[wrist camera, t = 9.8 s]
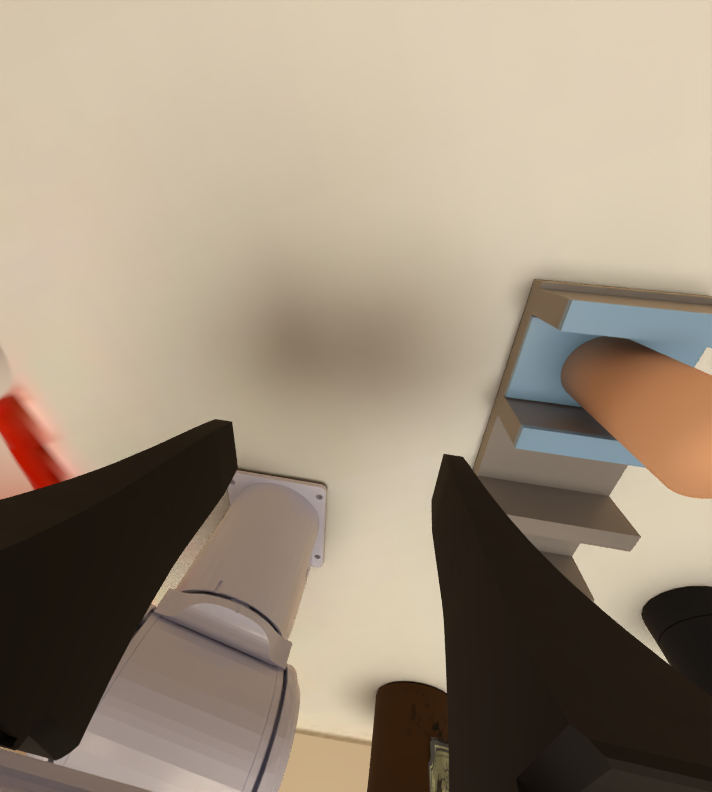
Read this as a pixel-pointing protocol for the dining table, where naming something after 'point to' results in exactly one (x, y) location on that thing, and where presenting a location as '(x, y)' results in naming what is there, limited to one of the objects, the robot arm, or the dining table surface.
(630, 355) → the tan rounded cylinder
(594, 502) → the grey slotted rack
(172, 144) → the dining table surface
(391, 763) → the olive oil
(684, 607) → the wine bottle
